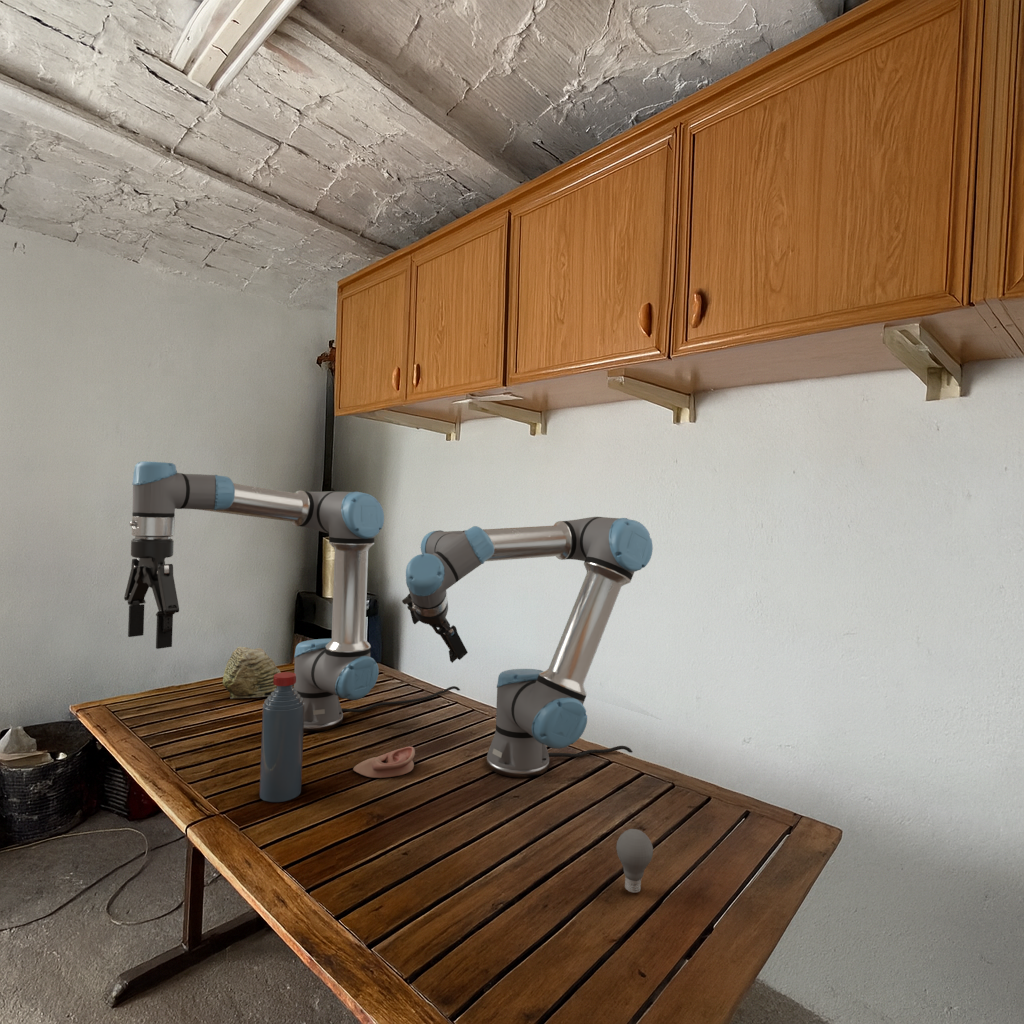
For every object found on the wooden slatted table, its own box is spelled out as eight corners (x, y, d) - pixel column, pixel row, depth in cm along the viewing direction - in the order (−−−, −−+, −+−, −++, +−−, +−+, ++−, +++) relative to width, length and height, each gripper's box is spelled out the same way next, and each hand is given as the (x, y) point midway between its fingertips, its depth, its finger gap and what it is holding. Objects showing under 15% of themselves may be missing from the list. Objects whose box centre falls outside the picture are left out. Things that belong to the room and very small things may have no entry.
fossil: (218, 695, 195) (220, 647, 195) (278, 685, 208) (279, 640, 207) (228, 703, 189) (230, 653, 188) (289, 692, 201) (290, 645, 201)
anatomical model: (347, 757, 144) (369, 739, 156) (347, 774, 144) (368, 755, 156) (402, 764, 142) (420, 745, 153) (402, 782, 142) (419, 762, 153)
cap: (268, 684, 133) (268, 676, 133) (283, 679, 137) (283, 671, 137) (286, 687, 131) (286, 679, 131) (300, 681, 136) (300, 673, 136)
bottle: (250, 797, 132) (254, 679, 132) (277, 781, 140) (281, 669, 140) (283, 805, 129) (288, 684, 129) (309, 788, 137) (313, 674, 137)
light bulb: (610, 879, 108) (613, 822, 108) (644, 879, 109) (647, 822, 109) (619, 902, 102) (622, 840, 102) (655, 901, 103) (658, 840, 103)
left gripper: (108, 533, 134) (105, 633, 134) (159, 542, 118) (156, 656, 118) (146, 533, 140) (143, 629, 140) (200, 541, 124) (196, 649, 124)
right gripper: (379, 575, 139) (391, 614, 156) (456, 653, 130) (459, 685, 147) (405, 554, 142) (414, 595, 159) (482, 629, 133) (483, 663, 150)
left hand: (149, 641), depth 129 cm, fingers open, 13 cm apart
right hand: (436, 638), depth 154 cm, fingers open, 13 cm apart
